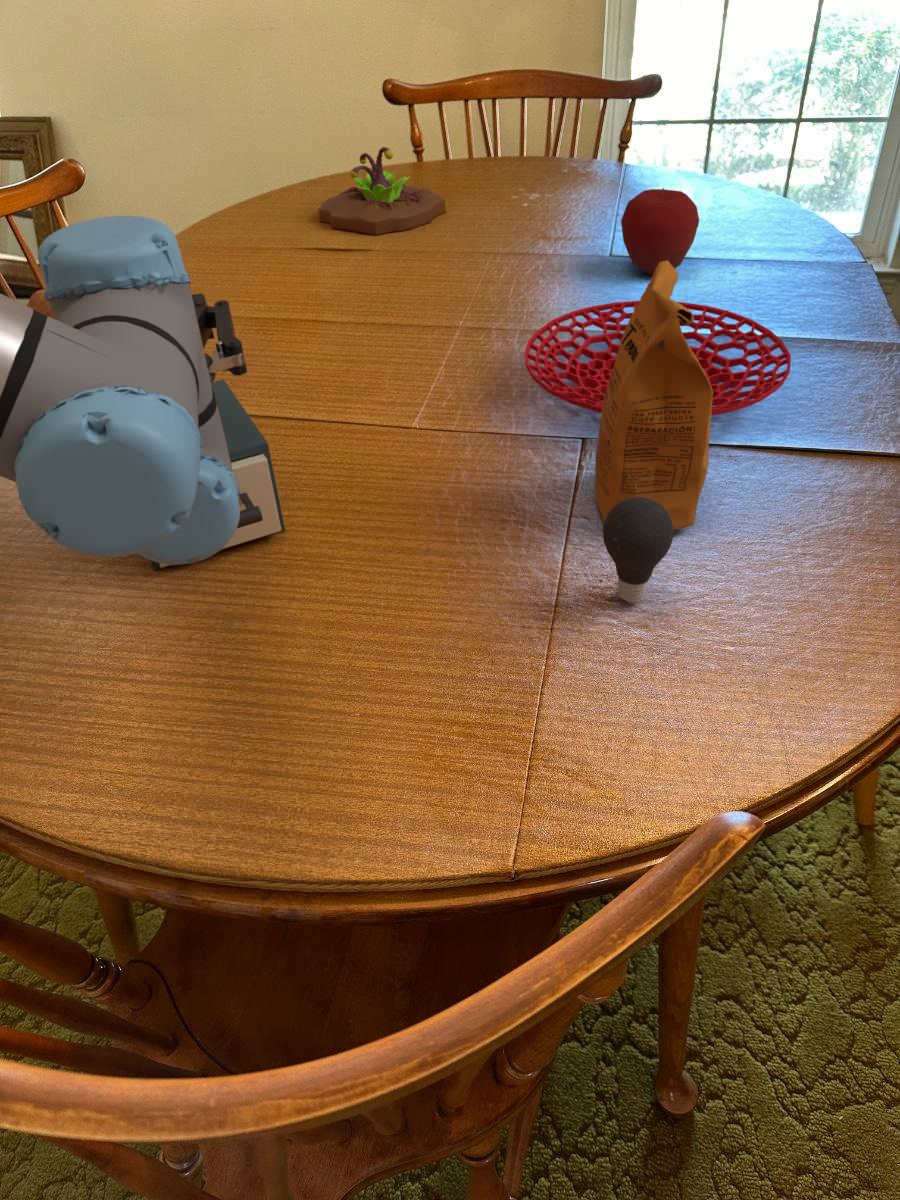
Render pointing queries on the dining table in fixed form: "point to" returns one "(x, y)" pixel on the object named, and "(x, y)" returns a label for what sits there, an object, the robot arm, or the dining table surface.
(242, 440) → the cabinet
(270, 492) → the drawer
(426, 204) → the plant
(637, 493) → the coffee package
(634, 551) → the light bulb
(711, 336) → the bowl
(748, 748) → the dining table surface
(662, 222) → the apple
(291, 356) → the dining table surface
